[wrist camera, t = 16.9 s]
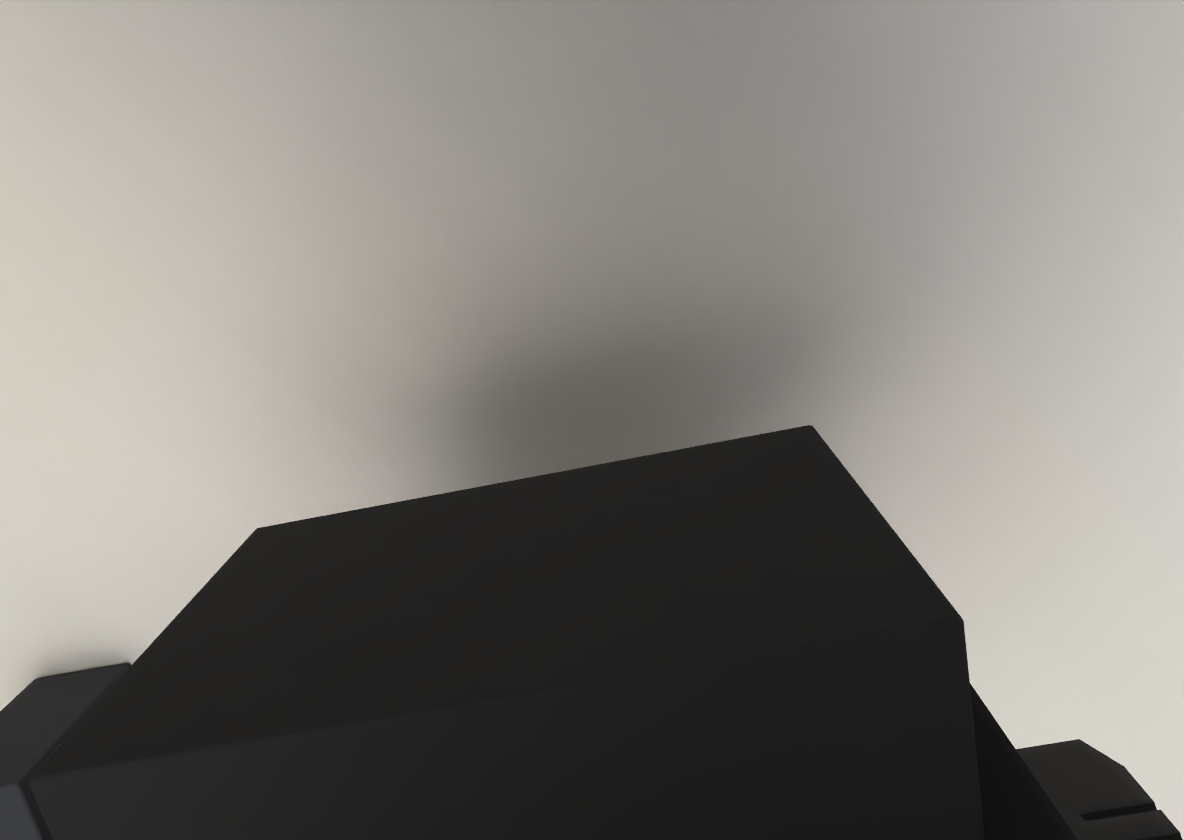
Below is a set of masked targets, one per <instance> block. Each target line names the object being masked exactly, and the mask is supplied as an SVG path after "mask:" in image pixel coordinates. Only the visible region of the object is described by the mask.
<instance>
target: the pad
mask: <svg viewBox="0 0 1184 840" xmlns="http://www.w3.org/2000/svg"><path fill="white" fill-rule="evenodd" d="M29 785H30V787H31V790H32V792H33V794H34V796H35V799H36V801H37V803H38V806H39V808H40V810H41V812H42V815H43V817H44V819H45V822H46V824H47V826H48V829H49V831H50V833H51V835H52V838H53V840H984V827H983V817H982V807H981V796H980V786H979V776H978V765H977V755H976V745H975V735H974V724H973V714H972V704H971V693H970V683H969V673H968V663H967V652H966V642H965V632H964V621H963V620H962V618H961V616H960V615H959V614H958V613H957V611H956V610H955V609H954V607H953V606H952V605H951V604H950V602H949V601H948V600H947V598H946V597H945V596H944V595H943V593H942V592H941V591H940V589H939V588H938V587H937V586H936V584H935V583H934V582H933V580H932V579H931V578H930V577H929V575H928V574H927V573H926V571H925V570H924V569H923V568H922V566H921V565H920V564H919V562H918V561H917V560H916V558H915V557H914V556H913V555H912V553H911V552H910V551H909V549H908V548H907V547H906V546H905V544H904V543H903V542H902V540H901V539H900V538H899V537H898V535H897V534H896V533H895V531H894V530H893V529H892V528H891V526H890V525H889V524H888V522H887V521H886V520H885V519H884V517H883V516H882V515H881V513H880V512H879V511H878V510H877V508H876V507H875V506H874V504H873V503H872V502H871V501H870V499H869V498H868V497H867V495H866V494H865V493H864V492H863V490H862V489H861V488H860V486H859V485H858V484H857V483H856V481H855V480H854V479H853V477H852V476H851V475H850V474H849V472H848V471H847V470H846V468H845V467H844V466H843V465H842V463H841V462H840V461H839V459H838V458H837V457H836V456H835V454H834V453H833V452H832V450H831V449H830V448H829V446H828V445H827V444H826V443H825V441H824V440H823V439H822V437H821V436H820V435H819V434H818V432H817V431H816V430H815V428H814V427H813V426H811V425H808V426H803V427H797V428H792V429H787V430H781V431H776V432H771V433H765V434H760V435H754V436H749V437H744V438H738V439H733V440H728V441H722V442H717V443H712V444H706V445H701V446H696V447H690V448H685V449H679V450H674V451H669V452H663V453H658V454H653V455H647V456H642V457H637V458H631V459H626V460H621V461H615V462H610V463H604V464H599V465H594V466H588V467H583V468H578V469H572V470H567V471H562V472H556V473H551V474H545V475H540V476H535V477H529V478H524V479H519V480H513V481H508V482H503V483H497V484H492V485H487V486H481V487H476V488H470V489H465V490H460V491H454V492H449V493H444V494H438V495H433V496H428V497H422V498H417V499H412V500H406V501H401V502H395V503H390V504H385V505H379V506H374V507H369V508H363V509H358V510H353V511H347V512H342V513H337V514H331V515H326V516H320V517H315V518H310V519H304V520H299V521H294V522H288V523H283V524H278V525H272V526H267V527H262V528H257V529H256V530H255V531H254V532H253V533H252V534H251V535H250V536H249V537H248V539H247V540H246V541H245V542H244V543H243V544H242V545H241V546H240V547H239V548H238V550H237V551H236V552H235V553H234V554H233V555H232V556H231V557H230V558H229V559H228V560H227V562H226V563H225V564H224V565H223V566H222V567H221V568H220V569H219V570H218V571H217V573H216V574H215V575H214V576H213V577H212V578H211V579H210V580H209V581H208V582H207V583H206V585H205V586H204V587H203V588H202V589H201V590H200V591H199V592H198V593H197V594H196V596H195V597H194V598H193V599H192V600H191V601H190V602H189V603H188V604H187V605H186V607H185V608H184V609H183V610H182V611H181V612H180V613H179V614H178V615H177V616H176V617H175V619H174V620H173V621H172V622H171V623H170V624H169V625H168V626H167V627H166V628H165V630H164V631H163V632H162V633H161V634H160V635H159V636H158V637H157V638H156V639H155V640H154V642H153V643H152V644H151V645H150V646H149V647H148V648H147V649H146V650H145V651H144V653H143V654H142V655H141V656H140V657H139V658H138V659H137V660H136V661H135V662H134V663H133V665H132V666H131V667H130V668H129V669H128V670H127V671H126V672H125V673H124V674H123V676H122V677H121V678H120V679H119V680H118V681H117V682H116V683H115V684H114V685H113V686H112V688H111V689H110V690H109V691H108V692H107V693H106V694H105V695H104V696H103V697H102V699H101V700H100V701H99V702H98V703H97V704H96V705H95V706H94V707H93V708H92V709H91V711H90V712H89V713H88V714H87V715H86V716H85V717H84V718H83V719H82V720H81V722H80V723H79V724H78V725H77V726H76V727H75V728H74V729H73V730H72V731H71V732H70V734H69V735H68V736H67V737H66V738H65V739H64V740H63V741H62V742H61V743H60V745H59V746H58V747H57V748H56V749H55V750H54V751H53V752H52V753H51V754H50V756H49V757H48V758H47V759H46V760H45V761H44V762H43V763H42V764H41V765H40V766H39V768H38V769H37V770H36V771H35V772H34V773H33V774H32V775H31V776H30V778H29Z"/></svg>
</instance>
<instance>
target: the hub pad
mask: <svg viewBox="0 0 1184 840" xmlns="http://www.w3.org/2000/svg"><path fill="white" fill-rule="evenodd" d="M129 668H130V666H129V665H128V664H123V665H117V666H111V667H105V668H99V669H93V670H87V671H81V672H75V673H70V674H64V675H58V676H52V677H46V678H40V679H35V680H34V681H32V682H31V683H30V684H29V685H28V686H27V687H26V688H25V689H24V690H23V691H22V692H21V693H20V694H19V695H17V696H16V697H15V698H14V699H13V700H12V701H11V702H10V703H9V704H8V705H7V706H6V707H5V708H4V709H2V710H1V711H0V840H53V838H52V835H51V833H50V831H49V829H48V826H47V824H46V822H45V819H44V817H43V815H42V812H41V810H40V808H39V806H38V803H37V801H36V799H35V796H34V794H33V792H32V790H31V787H30V785H29V778H30V776H31V775H32V774H33V773H34V772H35V771H36V770H37V769H38V768H39V766H40V765H41V764H42V763H43V762H44V761H45V760H46V759H47V758H48V757H49V756H50V754H51V753H52V752H53V751H54V750H55V749H56V748H57V747H58V746H59V745H60V743H61V742H62V741H63V740H64V739H65V738H66V737H67V736H68V735H69V734H70V732H71V731H72V730H73V729H74V728H75V727H76V726H77V725H78V724H79V723H80V722H81V720H82V719H83V718H84V717H85V716H86V715H87V714H88V713H89V712H90V711H91V709H92V708H93V707H94V706H95V705H96V704H97V703H98V702H99V701H100V700H101V699H102V697H103V696H104V695H105V694H106V693H107V692H108V691H109V690H110V689H111V688H112V686H113V685H114V684H115V683H116V682H117V681H118V680H119V679H120V678H121V677H122V676H123V674H124V673H125V672H126V671H127V670H128V669H129Z"/></svg>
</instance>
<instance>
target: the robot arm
mask: <svg viewBox="0 0 1184 840" xmlns="http://www.w3.org/2000/svg"><path fill="white" fill-rule="evenodd" d="M970 693H971V704H972V714H973V724H974V735H975V745H976V755H977V765H978V776H979V786H980V796H981V807H982V817H983V827H984V840H1182V838H1181V834H1180V832H1179V831H1178V830H1177V829H1176V827H1175V826H1174V825H1173V824H1172V823H1171V822H1170V820H1169V819H1168V818H1167V817H1166V816H1165V814H1164V813H1163V812H1162V811H1161V810H1157V809H1156V806H1155V803H1154V801H1153V800H1152V799H1151V798H1150V797H1149V795H1148V794H1147V793H1146V792H1145V791H1144V790H1143V788H1142V787H1141V786H1140V785H1139V784H1138V782H1137V781H1136V780H1135V779H1134V778H1133V777H1132V775H1131V774H1130V773H1129V772H1128V771H1127V769H1126V768H1125V767H1124V766H1122V765H1121V764H1119V763H1117V762H1116V761H1114V760H1112V759H1111V758H1109V757H1108V756H1106V755H1104V754H1103V753H1101V752H1099V751H1098V750H1096V749H1094V748H1093V747H1091V746H1089V745H1088V744H1086V743H1085V742H1083V741H1081V740H1080V739H1078V740H1072V741H1065V742H1059V743H1053V744H1047V745H1040V746H1034V747H1028V748H1022V749H1015V748H1014V746H1013V745H1012V743H1011V742H1010V741H1009V739H1008V738H1007V736H1006V735H1005V733H1004V732H1003V730H1002V729H1001V728H1000V726H999V725H998V723H997V722H996V720H995V719H994V717H993V716H992V714H991V713H990V712H989V710H988V709H987V707H986V706H985V704H984V703H983V701H982V700H981V699H980V697H979V696H978V694H977V693H976V691H975V690H974V688H973V687H972V685H971V684H970Z"/></svg>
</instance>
